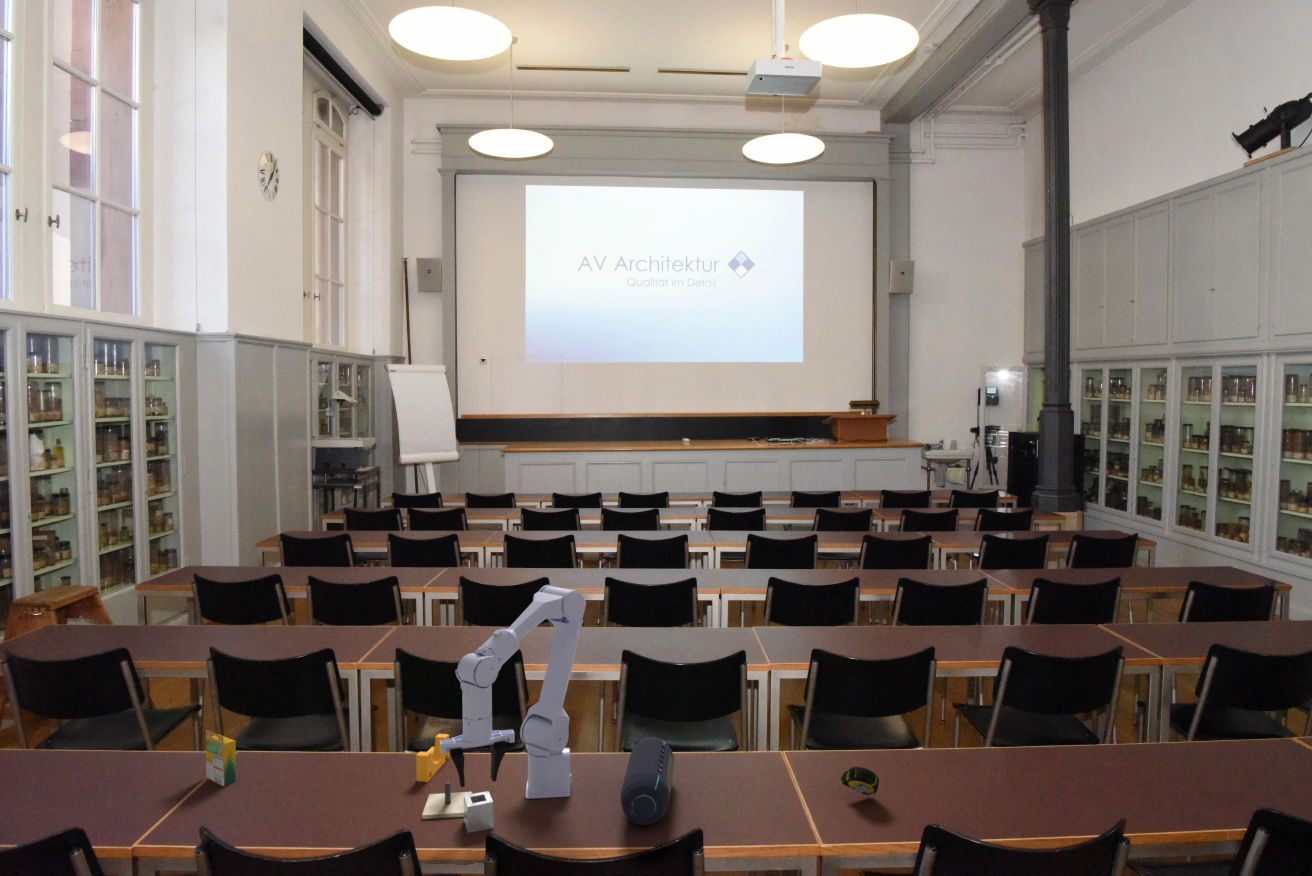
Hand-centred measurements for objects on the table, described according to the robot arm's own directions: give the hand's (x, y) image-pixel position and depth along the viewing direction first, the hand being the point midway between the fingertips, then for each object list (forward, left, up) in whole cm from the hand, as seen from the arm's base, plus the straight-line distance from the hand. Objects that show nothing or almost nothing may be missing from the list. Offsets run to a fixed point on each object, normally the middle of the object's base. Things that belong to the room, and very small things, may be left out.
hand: (477, 782), depth 156 cm
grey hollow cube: (0, 0, -8) cm, 9 cm away
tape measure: (-80, -1, -9) cm, 80 cm away
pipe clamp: (+14, -26, -9) cm, 30 cm away
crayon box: (+59, -26, -9) cm, 65 cm away
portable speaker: (-35, -5, -9) cm, 37 cm away
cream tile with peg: (+7, -8, -8) cm, 14 cm away
